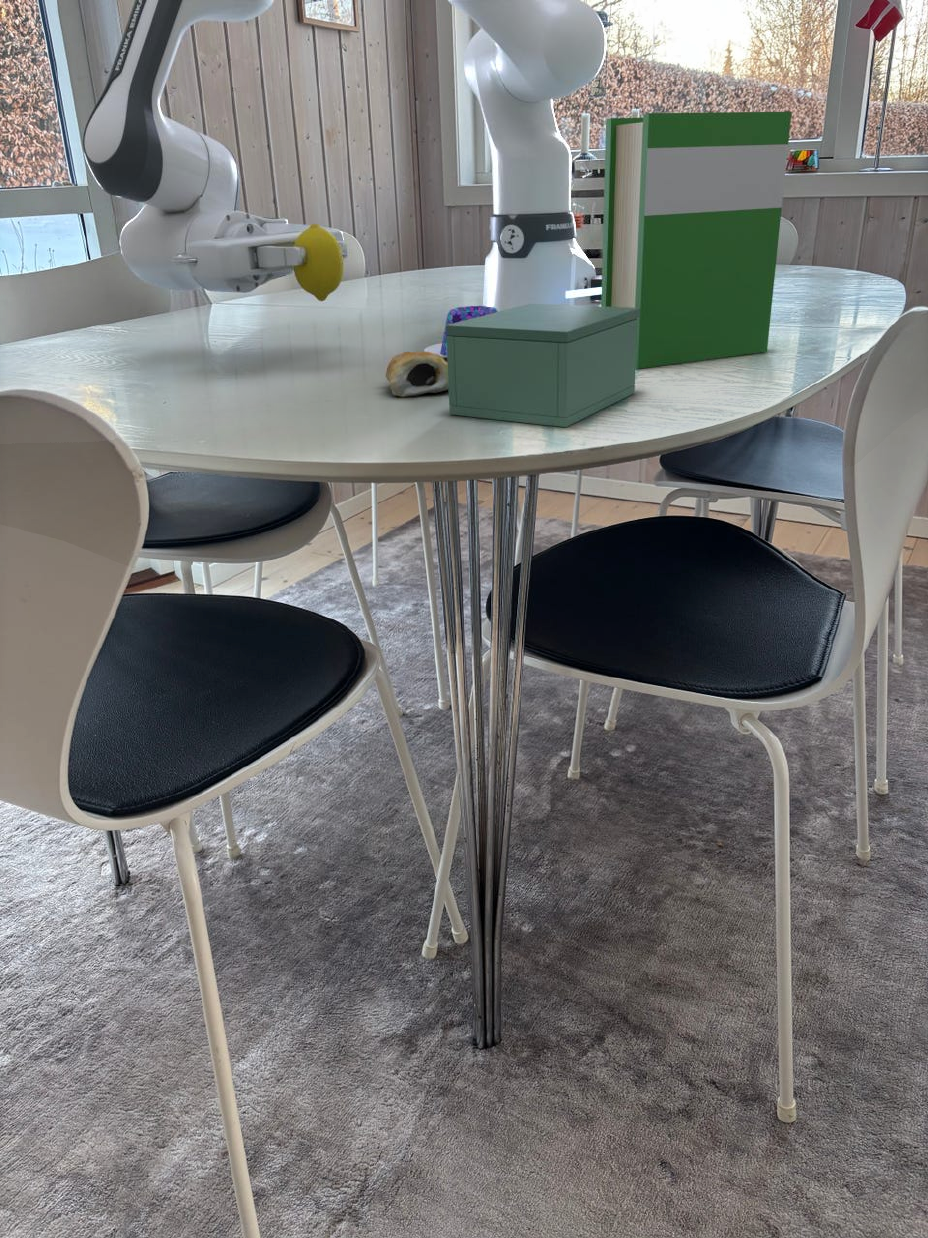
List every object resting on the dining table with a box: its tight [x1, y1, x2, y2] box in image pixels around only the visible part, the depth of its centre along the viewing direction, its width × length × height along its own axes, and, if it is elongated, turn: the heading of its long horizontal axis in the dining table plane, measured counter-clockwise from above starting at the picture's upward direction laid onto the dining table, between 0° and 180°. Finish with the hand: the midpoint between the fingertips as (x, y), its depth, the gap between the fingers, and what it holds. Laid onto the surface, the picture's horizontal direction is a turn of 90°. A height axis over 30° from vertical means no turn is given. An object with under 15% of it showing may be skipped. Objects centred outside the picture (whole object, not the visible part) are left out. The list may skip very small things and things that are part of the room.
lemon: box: [293, 223, 345, 302], centre depth 101 cm, size 6×6×8 cm
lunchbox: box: [446, 319, 638, 428], centre depth 83 cm, size 15×12×7 cm
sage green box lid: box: [445, 304, 641, 343], centre depth 82 cm, size 15×12×1 cm
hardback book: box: [601, 111, 792, 370], centre depth 99 cm, size 18×7×24 cm, turn 115°
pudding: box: [423, 305, 498, 360], centre depth 109 cm, size 12×12×5 cm
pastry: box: [384, 350, 449, 398], centre depth 93 cm, size 9×7×4 cm
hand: (323, 253), depth 100 cm, fingers closed on lemon, 5 cm apart
